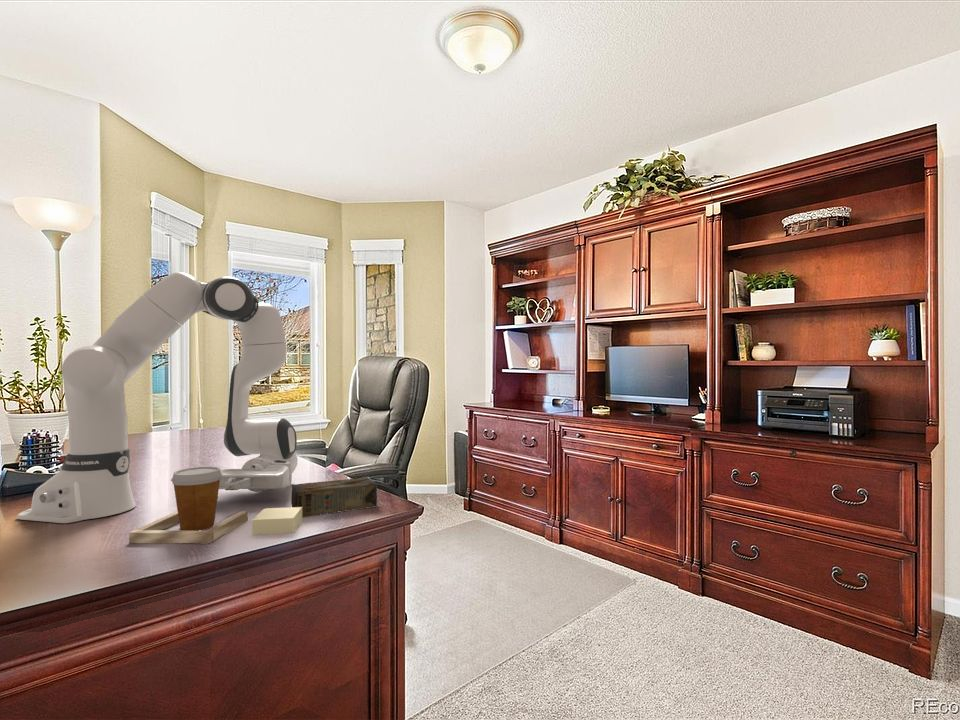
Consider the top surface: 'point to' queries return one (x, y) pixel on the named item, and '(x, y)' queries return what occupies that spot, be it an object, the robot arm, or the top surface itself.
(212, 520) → the disposable coffee cup
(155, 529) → the frame
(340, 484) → the beverage carton
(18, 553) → the top surface
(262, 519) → the note block
